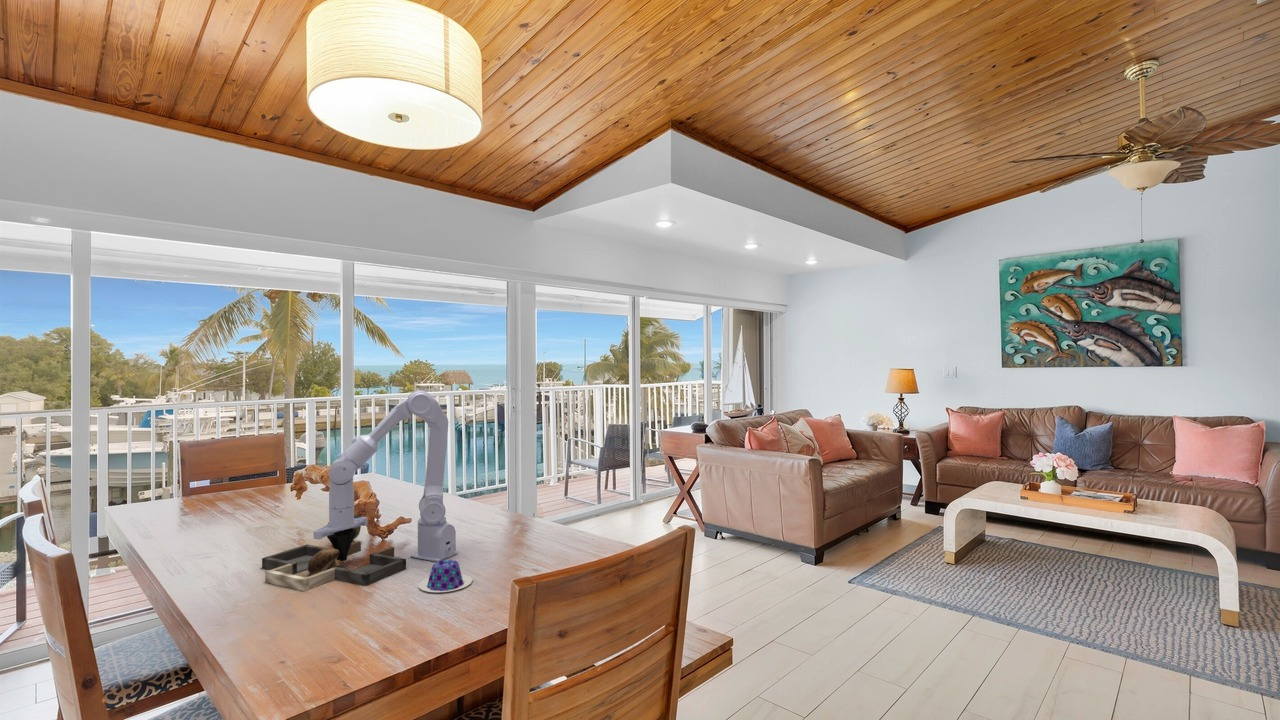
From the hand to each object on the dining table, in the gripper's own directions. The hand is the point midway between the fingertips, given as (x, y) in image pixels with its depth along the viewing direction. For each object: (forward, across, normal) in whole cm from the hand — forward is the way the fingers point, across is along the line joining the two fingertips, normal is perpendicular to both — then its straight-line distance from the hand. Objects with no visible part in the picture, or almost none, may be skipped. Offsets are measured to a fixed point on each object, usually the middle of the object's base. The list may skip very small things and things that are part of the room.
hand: (341, 560), depth 155 cm
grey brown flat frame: (+1, +2, 0) cm, 3 cm away
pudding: (+2, -1, +33) cm, 33 cm away
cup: (+2, -13, -13) cm, 18 cm away
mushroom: (+2, +5, 0) cm, 5 cm away
